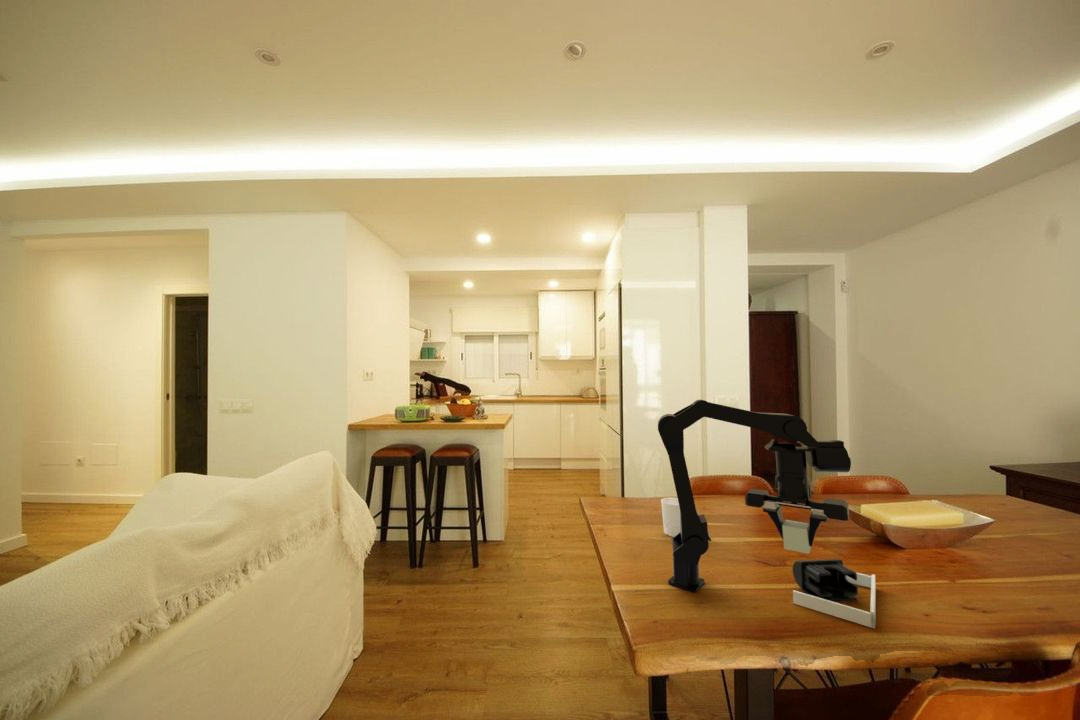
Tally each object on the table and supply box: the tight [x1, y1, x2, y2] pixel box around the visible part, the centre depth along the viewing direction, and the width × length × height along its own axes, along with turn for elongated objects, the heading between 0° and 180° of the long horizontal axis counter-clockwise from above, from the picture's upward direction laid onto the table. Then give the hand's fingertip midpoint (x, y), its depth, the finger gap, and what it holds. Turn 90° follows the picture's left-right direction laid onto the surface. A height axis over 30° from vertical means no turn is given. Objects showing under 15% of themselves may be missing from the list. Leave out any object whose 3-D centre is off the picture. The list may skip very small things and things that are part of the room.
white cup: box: [660, 496, 680, 538], centre depth 121 cm, size 8×8×10 cm
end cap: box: [792, 558, 859, 603], centre depth 86 cm, size 10×7×7 cm
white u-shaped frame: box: [792, 572, 877, 629], centre depth 85 cm, size 19×13×3 cm
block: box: [782, 519, 812, 555], centre depth 85 cm, size 4×4×5 cm
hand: (797, 543), depth 85 cm, fingers closed on block, 4 cm apart
